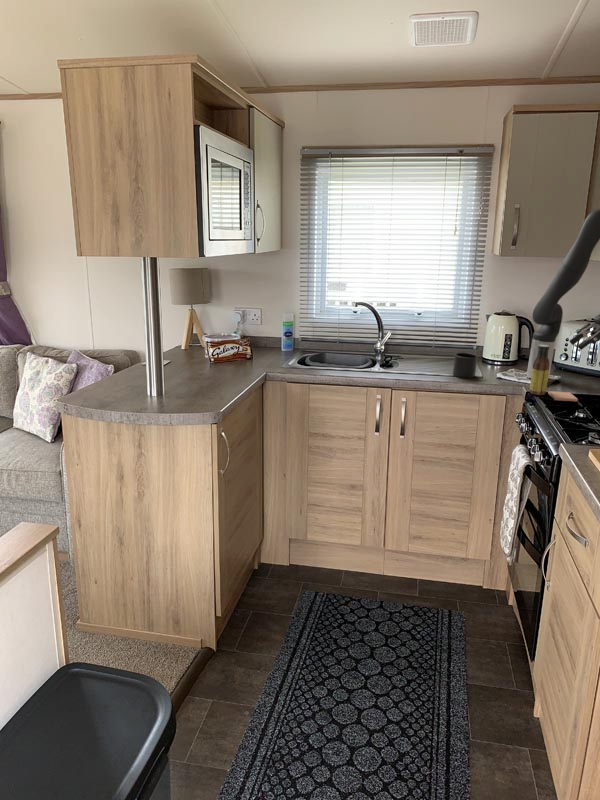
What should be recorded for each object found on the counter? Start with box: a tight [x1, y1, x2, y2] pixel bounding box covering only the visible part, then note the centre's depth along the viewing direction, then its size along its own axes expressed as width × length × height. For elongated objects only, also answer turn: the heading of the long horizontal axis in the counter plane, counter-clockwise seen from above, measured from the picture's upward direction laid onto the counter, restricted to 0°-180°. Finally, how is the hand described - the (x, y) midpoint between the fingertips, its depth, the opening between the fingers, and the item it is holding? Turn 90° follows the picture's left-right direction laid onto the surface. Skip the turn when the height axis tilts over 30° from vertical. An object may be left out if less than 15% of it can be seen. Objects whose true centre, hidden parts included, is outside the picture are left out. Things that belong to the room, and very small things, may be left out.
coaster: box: [547, 390, 579, 402], centre depth 241 cm, size 8×8×1 cm
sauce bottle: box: [529, 345, 550, 396], centre depth 242 cm, size 6×6×20 cm
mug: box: [452, 352, 478, 379], centre depth 267 cm, size 9×12×9 cm
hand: (574, 345), depth 238 cm, fingers open, 8 cm apart
